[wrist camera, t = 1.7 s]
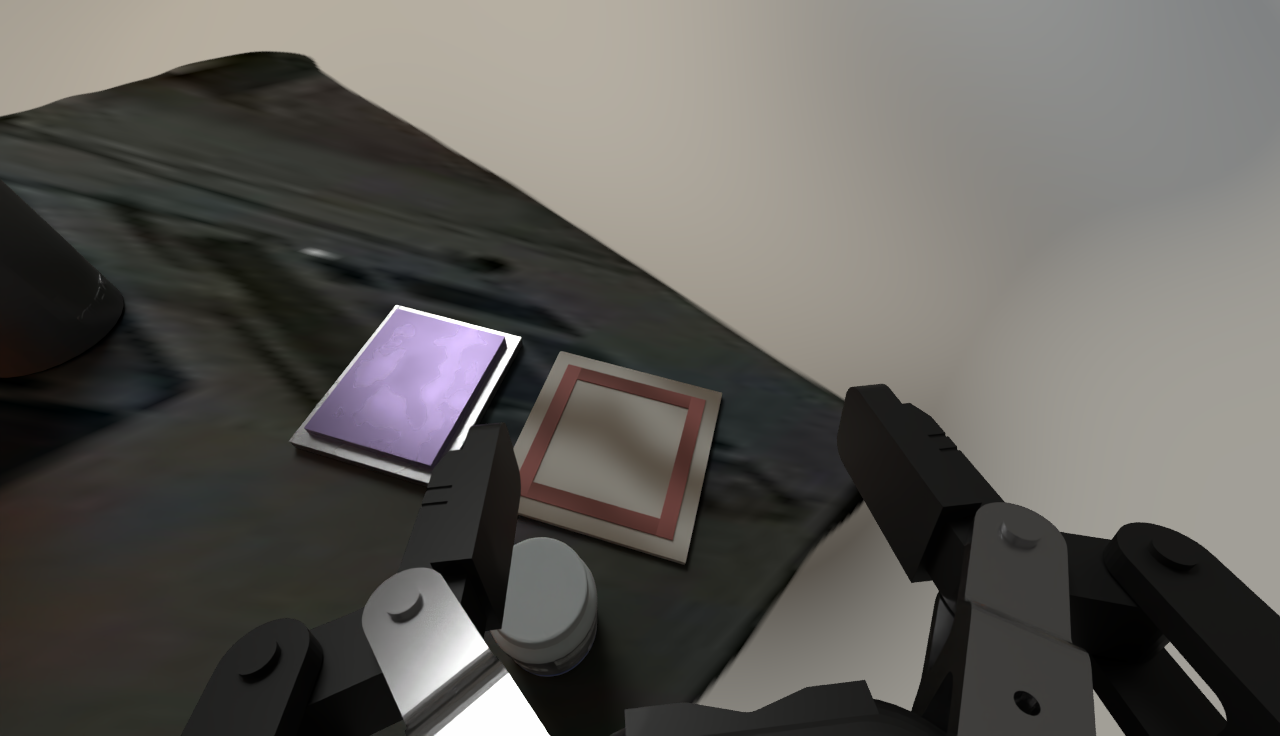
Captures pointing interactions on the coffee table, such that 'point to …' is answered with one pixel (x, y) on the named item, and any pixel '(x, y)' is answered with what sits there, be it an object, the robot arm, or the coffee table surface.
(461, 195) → the coffee table surface
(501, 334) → the ink pad
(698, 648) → the coffee table surface
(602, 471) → the marked board
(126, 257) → the coffee table surface
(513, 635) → the pill bottle
